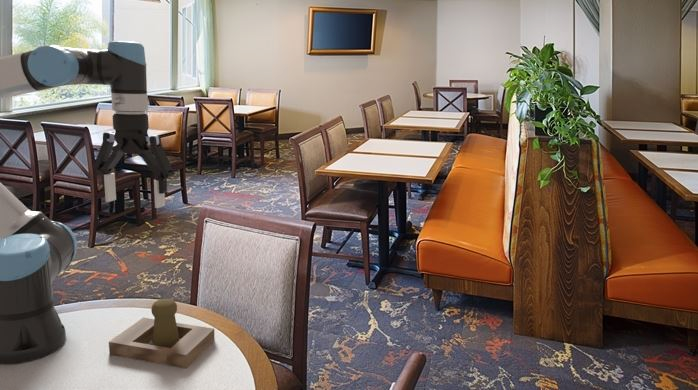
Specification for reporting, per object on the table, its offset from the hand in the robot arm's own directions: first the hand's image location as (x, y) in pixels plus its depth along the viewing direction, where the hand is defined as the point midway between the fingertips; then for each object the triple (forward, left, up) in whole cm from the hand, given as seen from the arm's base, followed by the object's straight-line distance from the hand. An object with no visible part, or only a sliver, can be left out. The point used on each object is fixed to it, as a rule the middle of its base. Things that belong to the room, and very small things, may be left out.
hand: (135, 203), depth 124 cm
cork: (+15, -12, -28) cm, 34 cm away
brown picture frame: (+14, -13, -28) cm, 34 cm away
